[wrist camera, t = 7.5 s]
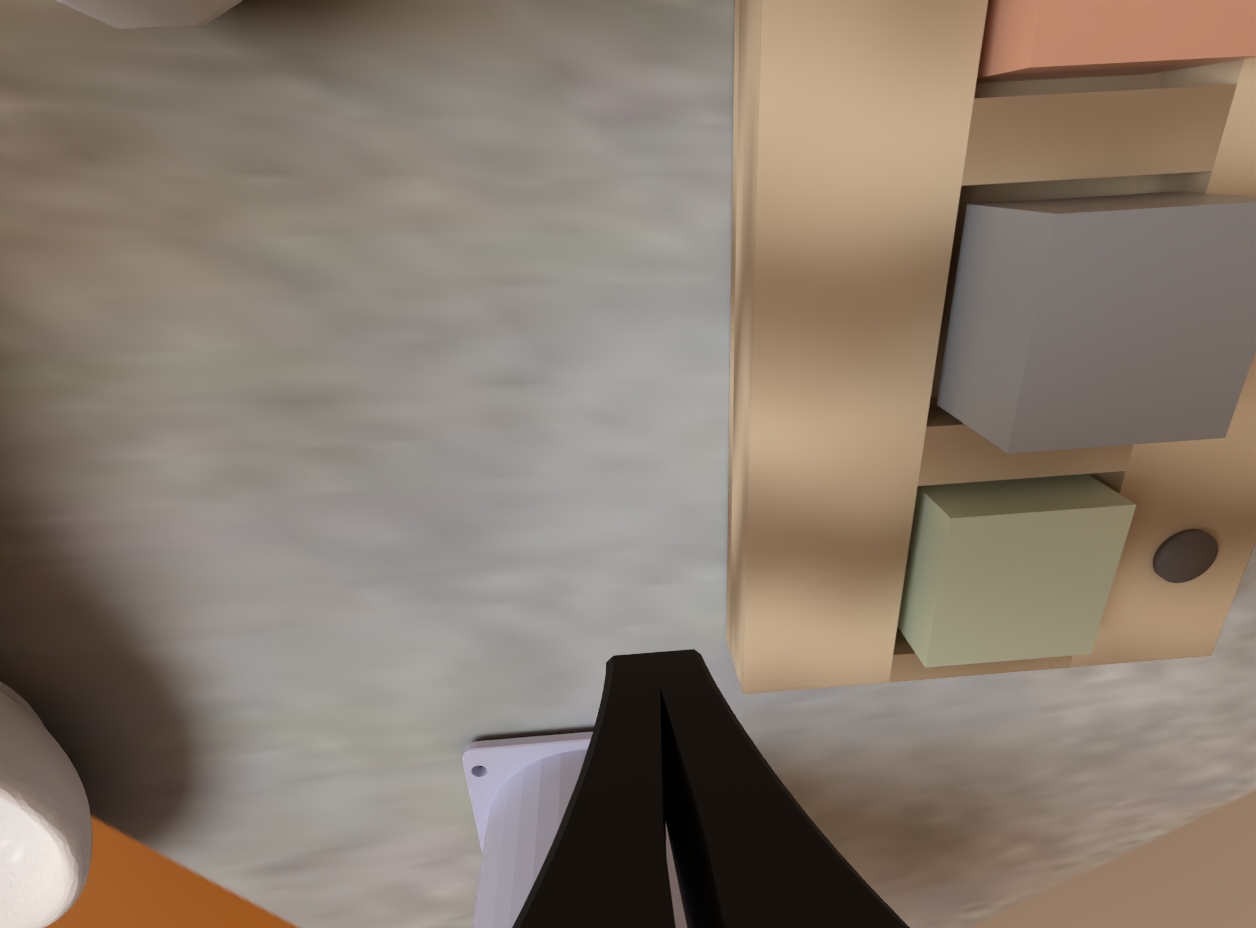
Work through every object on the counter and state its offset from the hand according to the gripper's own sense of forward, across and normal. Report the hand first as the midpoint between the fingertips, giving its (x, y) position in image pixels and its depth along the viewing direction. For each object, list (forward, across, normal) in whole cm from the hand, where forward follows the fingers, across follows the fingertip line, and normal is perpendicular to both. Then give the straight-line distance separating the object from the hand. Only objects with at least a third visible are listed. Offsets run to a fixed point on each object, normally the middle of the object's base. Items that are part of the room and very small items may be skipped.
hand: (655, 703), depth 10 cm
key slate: (+7, -10, -4) cm, 13 cm away
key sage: (+9, -10, +3) cm, 14 cm away
